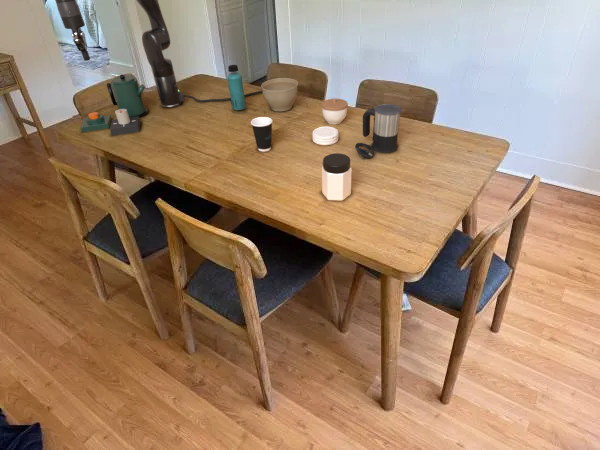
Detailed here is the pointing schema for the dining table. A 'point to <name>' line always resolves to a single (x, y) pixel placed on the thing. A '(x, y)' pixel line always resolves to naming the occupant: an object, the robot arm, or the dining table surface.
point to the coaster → (325, 135)
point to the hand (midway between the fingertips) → (87, 60)
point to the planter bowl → (280, 93)
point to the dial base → (125, 126)
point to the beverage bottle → (236, 88)
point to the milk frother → (381, 129)
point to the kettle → (128, 95)
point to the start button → (93, 115)
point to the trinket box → (334, 110)
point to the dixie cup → (262, 132)
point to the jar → (336, 176)
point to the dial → (122, 116)
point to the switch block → (96, 123)
